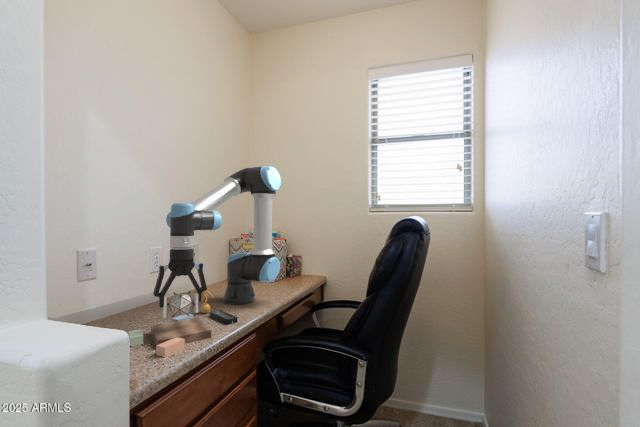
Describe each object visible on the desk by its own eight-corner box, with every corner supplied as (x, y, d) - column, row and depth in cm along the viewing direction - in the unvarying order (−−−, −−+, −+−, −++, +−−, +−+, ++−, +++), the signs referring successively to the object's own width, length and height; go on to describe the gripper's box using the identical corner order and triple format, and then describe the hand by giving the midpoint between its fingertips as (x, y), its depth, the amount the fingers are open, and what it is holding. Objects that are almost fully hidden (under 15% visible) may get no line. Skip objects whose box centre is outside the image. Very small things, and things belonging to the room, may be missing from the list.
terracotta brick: (176, 346, 95) (176, 337, 95) (184, 348, 94) (184, 339, 94) (156, 355, 89) (156, 345, 89) (164, 358, 87) (164, 347, 87)
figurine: (216, 312, 130) (217, 284, 130) (209, 316, 124) (209, 287, 124) (198, 311, 131) (199, 283, 132) (190, 315, 125) (191, 286, 126)
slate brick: (186, 321, 119) (186, 313, 119) (193, 322, 118) (193, 314, 118) (171, 326, 113) (171, 318, 113) (177, 328, 111) (178, 319, 112)
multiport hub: (219, 315, 128) (219, 309, 128) (237, 323, 117) (237, 317, 118) (209, 317, 124) (209, 311, 124) (227, 326, 114) (227, 319, 114)
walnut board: (198, 324, 115) (198, 317, 115) (211, 337, 102) (211, 330, 102) (150, 333, 106) (150, 325, 106) (157, 349, 93) (157, 340, 93)
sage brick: (127, 340, 100) (128, 331, 100) (140, 338, 102) (140, 329, 102) (130, 347, 94) (130, 338, 94) (143, 345, 96) (143, 335, 96)
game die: (182, 328, 102) (181, 309, 97) (162, 317, 104) (159, 298, 99) (200, 309, 110) (200, 290, 104) (181, 299, 111) (179, 280, 106)
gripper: (146, 250, 95) (144, 323, 95) (217, 247, 108) (216, 311, 107) (143, 248, 101) (142, 316, 101) (211, 246, 114) (210, 306, 113)
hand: (180, 314), depth 104 cm, fingers closed on game die, 9 cm apart
